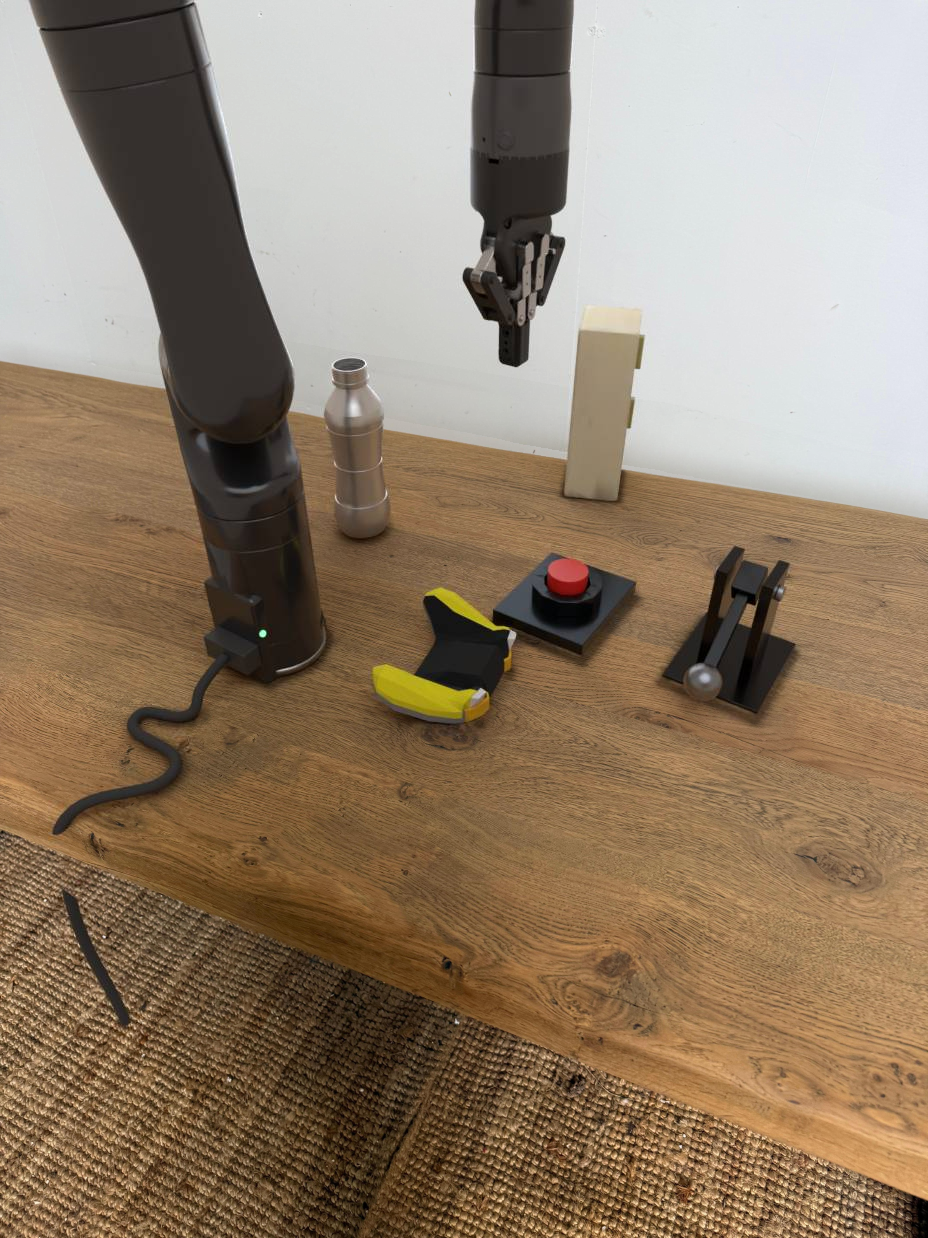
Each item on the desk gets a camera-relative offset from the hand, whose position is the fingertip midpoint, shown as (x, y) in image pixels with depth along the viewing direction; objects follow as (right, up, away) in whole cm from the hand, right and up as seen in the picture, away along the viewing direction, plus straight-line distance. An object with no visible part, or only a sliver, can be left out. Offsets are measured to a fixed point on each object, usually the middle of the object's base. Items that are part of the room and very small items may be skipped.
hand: (513, 362), depth 76 cm
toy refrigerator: (+12, -6, +33) cm, 36 cm away
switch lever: (+19, -24, 0) cm, 31 cm away
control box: (+6, -22, +13) cm, 26 cm away
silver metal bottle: (-16, -12, +25) cm, 32 cm away
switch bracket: (+21, -27, +6) cm, 35 cm away
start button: (+6, -19, +10) cm, 23 cm away
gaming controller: (-6, -29, +5) cm, 29 cm away
